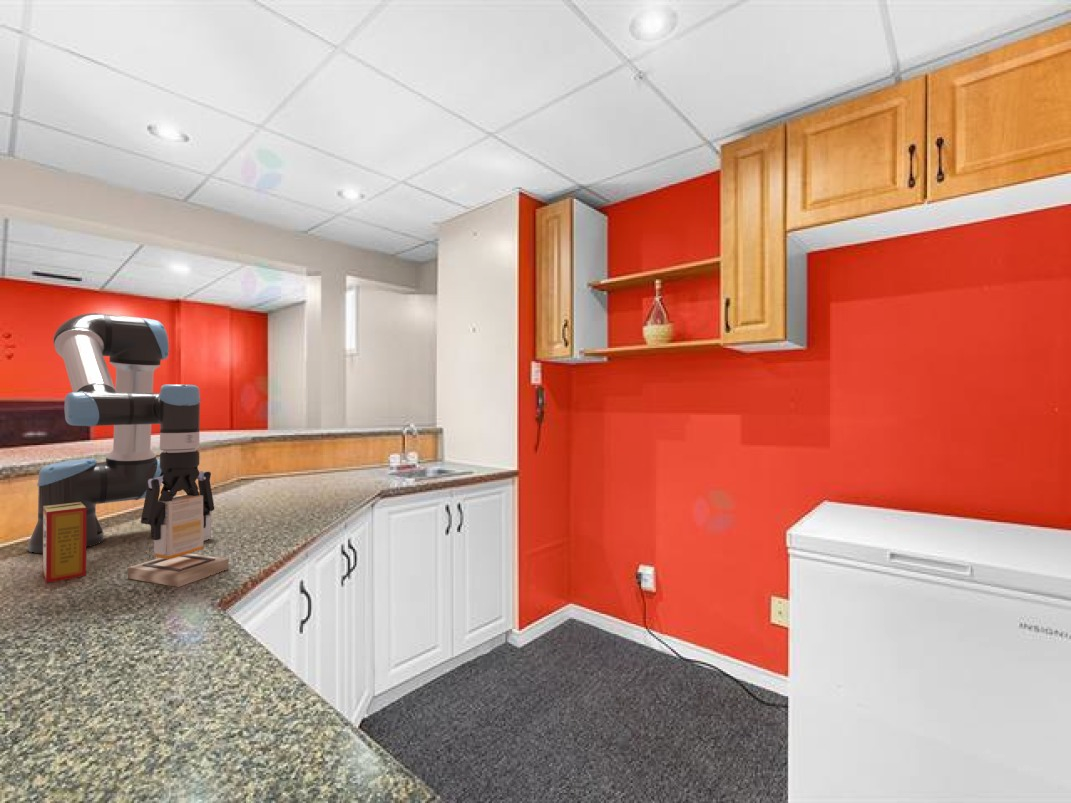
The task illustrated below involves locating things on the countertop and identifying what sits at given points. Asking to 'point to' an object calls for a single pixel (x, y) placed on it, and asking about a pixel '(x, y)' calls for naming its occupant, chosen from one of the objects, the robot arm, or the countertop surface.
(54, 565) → the baking soda box
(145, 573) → the seat pad
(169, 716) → the countertop surface
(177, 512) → the supplement box
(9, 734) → the countertop surface
